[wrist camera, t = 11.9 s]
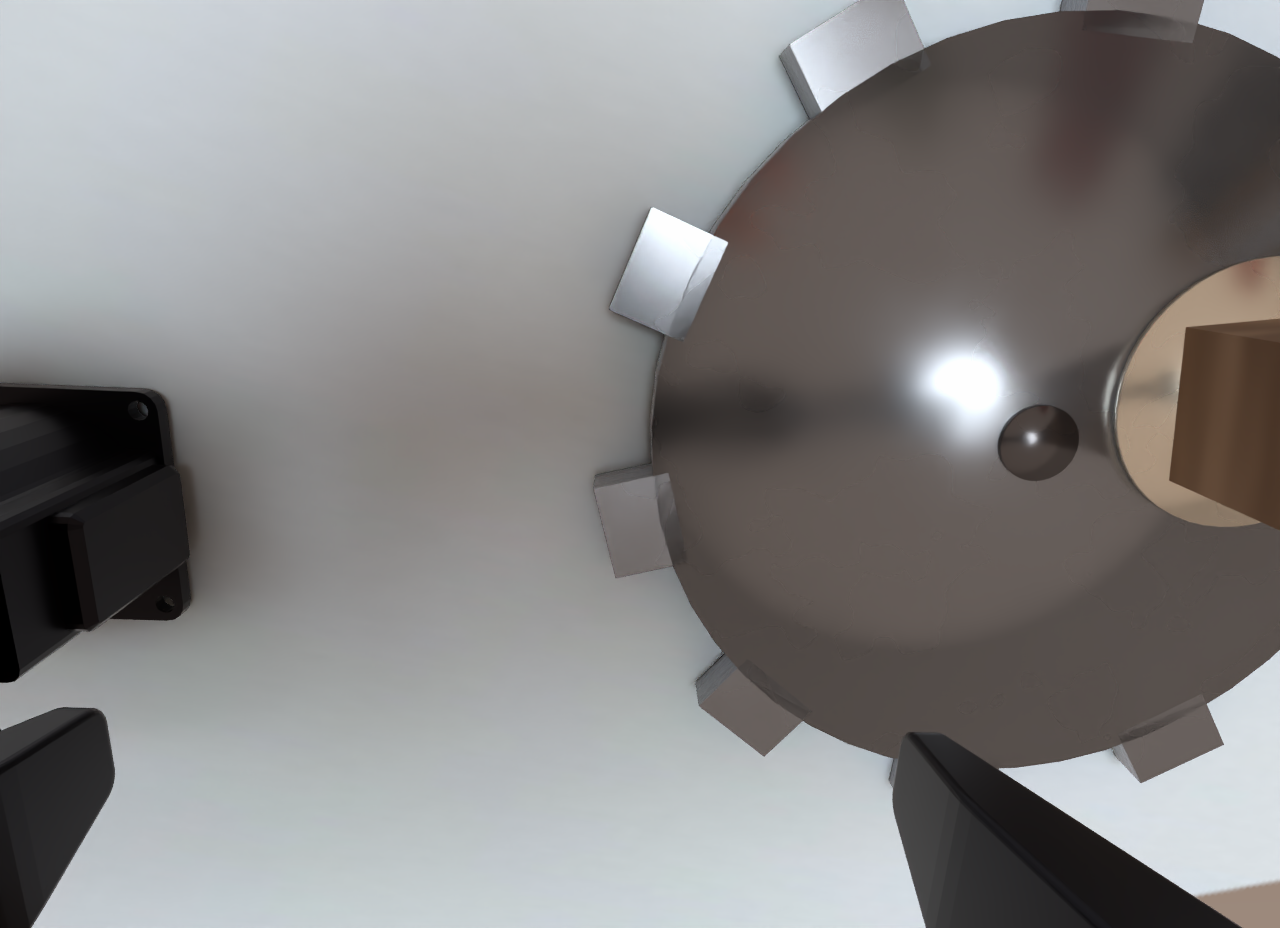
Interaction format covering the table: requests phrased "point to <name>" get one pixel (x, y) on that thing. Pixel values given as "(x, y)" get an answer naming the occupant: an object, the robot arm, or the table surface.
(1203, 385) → the gold-topped wooden block
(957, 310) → the sprocket plate
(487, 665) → the table surface
